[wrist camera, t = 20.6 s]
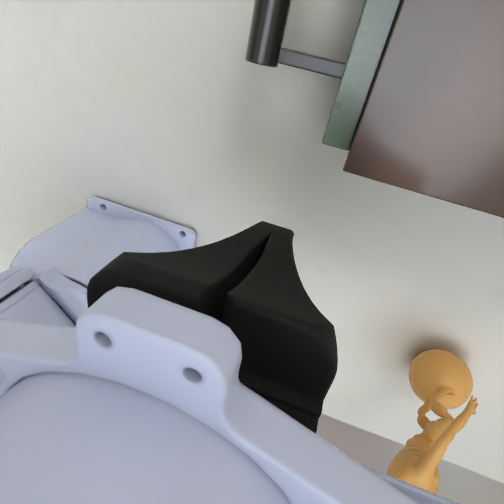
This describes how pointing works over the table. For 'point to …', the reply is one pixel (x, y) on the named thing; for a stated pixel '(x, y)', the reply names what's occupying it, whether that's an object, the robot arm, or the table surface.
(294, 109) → the table surface
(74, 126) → the table surface
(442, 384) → the figurine
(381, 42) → the drawer
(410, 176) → the cabinet
